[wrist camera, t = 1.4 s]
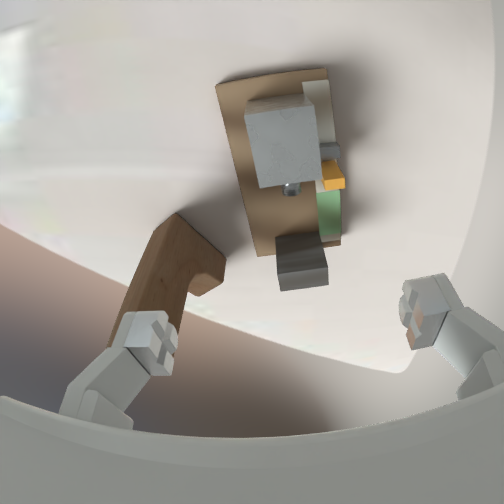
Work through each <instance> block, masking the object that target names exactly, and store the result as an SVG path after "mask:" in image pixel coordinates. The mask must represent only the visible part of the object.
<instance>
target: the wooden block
mask: <svg viewBox="0 0 504 504" xmlns="http://www.w3.org/2000/svg"><path fill="white" fill-rule="evenodd" d="M225 266H226V258H225V257H224V256H223V255H222V254H221V253H220V252H219V251H218V250H217V249H215V248H214V247H213V246H212V245H211V244H210V243H209V242H208V241H207V240H205V239H204V238H203V237H202V236H201V235H200V234H199V233H198V232H197V231H196V230H194V229H193V228H192V227H191V226H190V225H189V224H188V223H187V222H186V221H185V220H183V219H182V218H181V217H180V216H179V215H178V214H176V213H175V214H173V215H172V216H171V217H170V218H168V219H167V220H166V221H165V222H164V223H162V224H161V225H160V226H159V227H158V228H157V229H155V230H154V231H153V234H152V236H151V238H150V240H149V242H148V244H147V247H146V249H145V251H144V253H143V256H142V258H141V260H140V263H139V265H138V267H137V269H136V272H135V274H134V276H133V279H132V281H131V284H130V286H129V289H128V291H127V293H126V296H125V298H124V301H123V304H122V306H121V309H120V311H119V314H118V317H117V319H116V322H115V325H114V327H113V330H112V333H111V336H110V338H109V341H108V344H107V347H106V349H107V348H108V347H111V346H112V344H113V341H114V338H115V336H116V333H117V330H118V328H119V325H120V323H121V320H122V318H123V315H124V314H125V313H126V312H138V311H165V312H166V314H167V315H168V317H169V318H168V322H169V323H171V324H172V325H174V327H175V329H176V331H177V335H178V333H179V328H180V323H181V319H182V314H183V310H184V305H185V301H186V297H187V292H190V293H192V294H193V295H195V296H201V295H203V294H205V293H206V292H208V291H210V290H212V289H213V288H215V287H217V286H218V285H220V284H222V283H223V281H224V273H225ZM173 356H174V353H173V354H172V357H173Z"/></svg>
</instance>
